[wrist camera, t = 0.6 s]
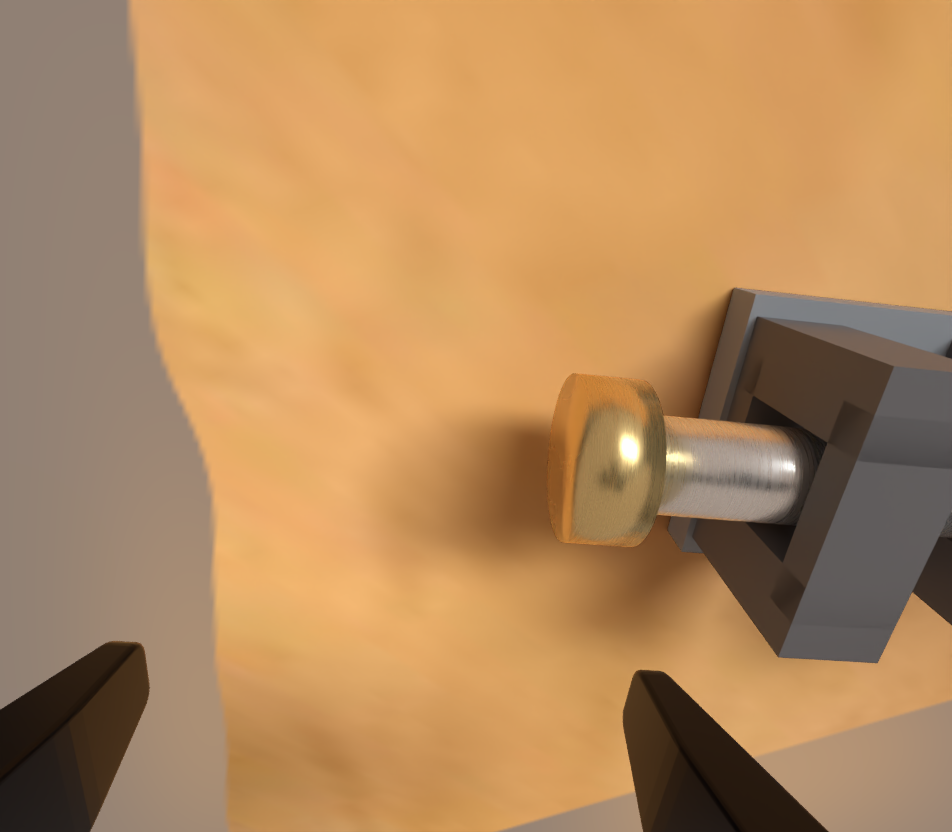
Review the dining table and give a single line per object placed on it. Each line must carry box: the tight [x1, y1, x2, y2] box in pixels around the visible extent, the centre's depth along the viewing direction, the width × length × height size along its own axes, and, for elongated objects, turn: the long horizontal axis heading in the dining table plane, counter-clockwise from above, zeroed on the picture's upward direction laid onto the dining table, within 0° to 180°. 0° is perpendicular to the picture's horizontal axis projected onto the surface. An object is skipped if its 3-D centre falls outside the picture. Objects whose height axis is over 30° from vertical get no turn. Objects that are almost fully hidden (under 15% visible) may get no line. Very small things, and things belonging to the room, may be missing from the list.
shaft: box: [547, 373, 952, 547], centre depth 17 cm, size 15×5×5 cm, turn 84°
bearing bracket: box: [668, 288, 952, 663], centre depth 18 cm, size 12×10×8 cm
